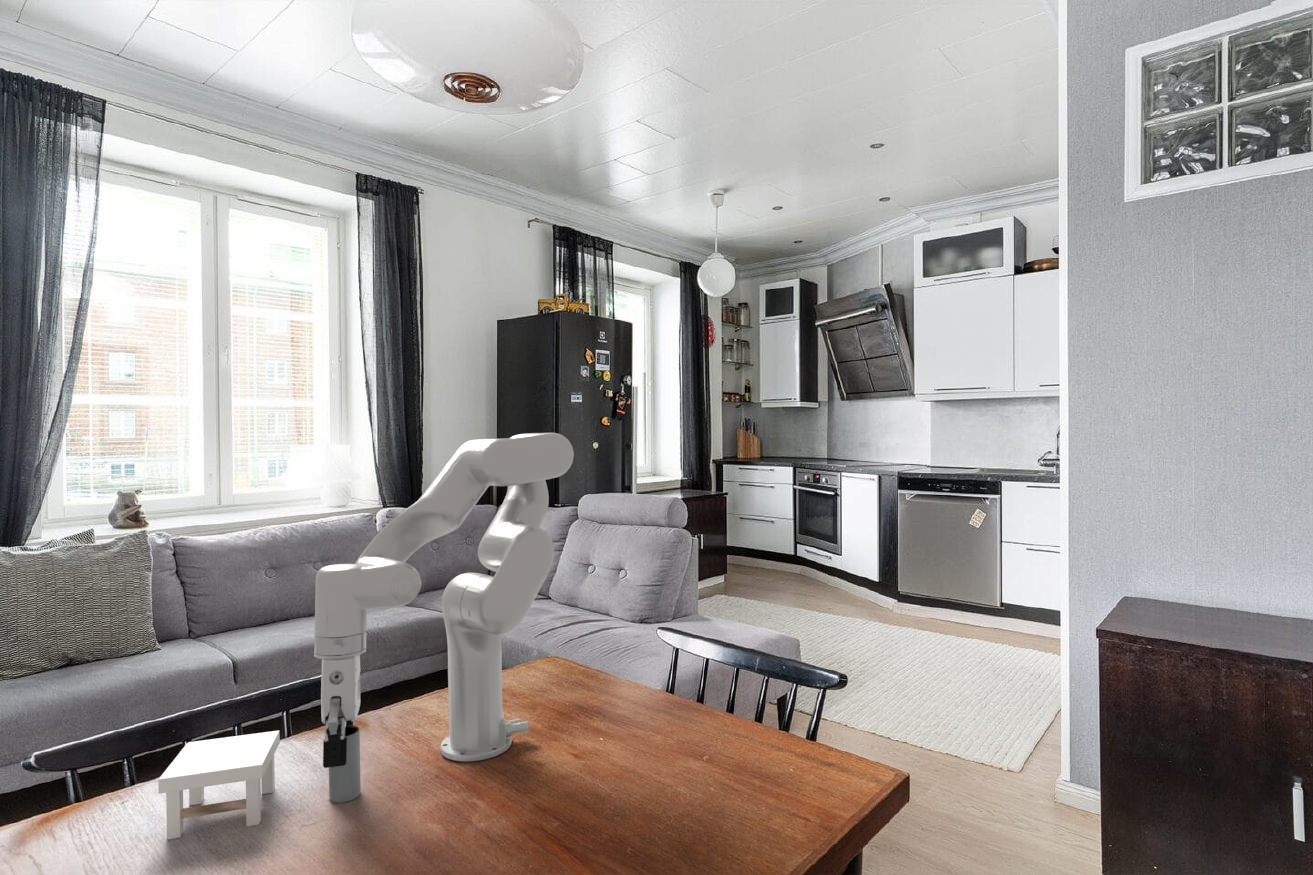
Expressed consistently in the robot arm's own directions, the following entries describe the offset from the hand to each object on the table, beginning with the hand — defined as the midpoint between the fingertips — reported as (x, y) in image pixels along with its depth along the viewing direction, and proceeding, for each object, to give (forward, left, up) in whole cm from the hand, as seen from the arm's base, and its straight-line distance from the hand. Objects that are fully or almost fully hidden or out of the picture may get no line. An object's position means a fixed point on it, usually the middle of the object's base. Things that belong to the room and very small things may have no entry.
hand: (338, 752), depth 111 cm
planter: (-1, 0, -7) cm, 7 cm away
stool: (+16, -1, -7) cm, 18 cm away
